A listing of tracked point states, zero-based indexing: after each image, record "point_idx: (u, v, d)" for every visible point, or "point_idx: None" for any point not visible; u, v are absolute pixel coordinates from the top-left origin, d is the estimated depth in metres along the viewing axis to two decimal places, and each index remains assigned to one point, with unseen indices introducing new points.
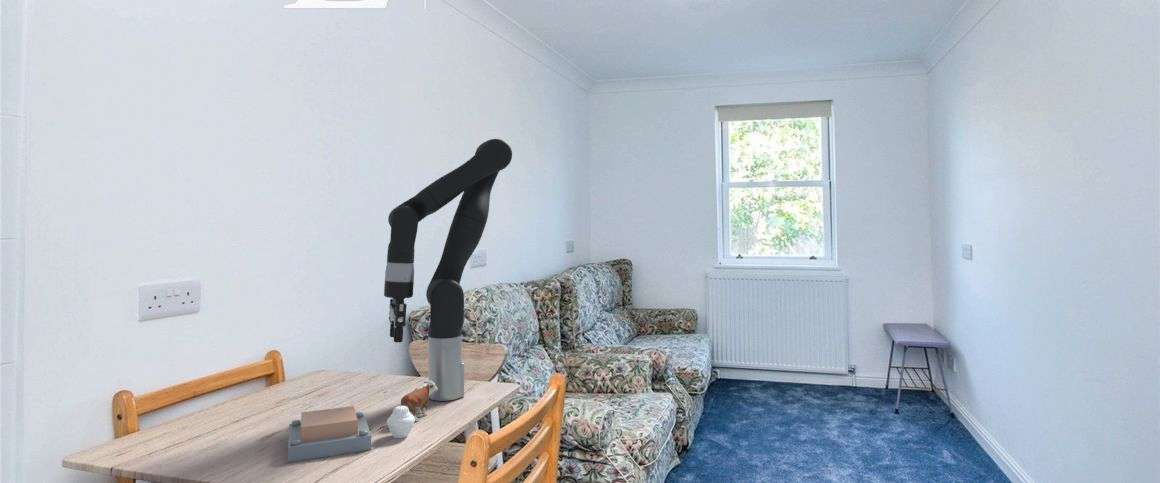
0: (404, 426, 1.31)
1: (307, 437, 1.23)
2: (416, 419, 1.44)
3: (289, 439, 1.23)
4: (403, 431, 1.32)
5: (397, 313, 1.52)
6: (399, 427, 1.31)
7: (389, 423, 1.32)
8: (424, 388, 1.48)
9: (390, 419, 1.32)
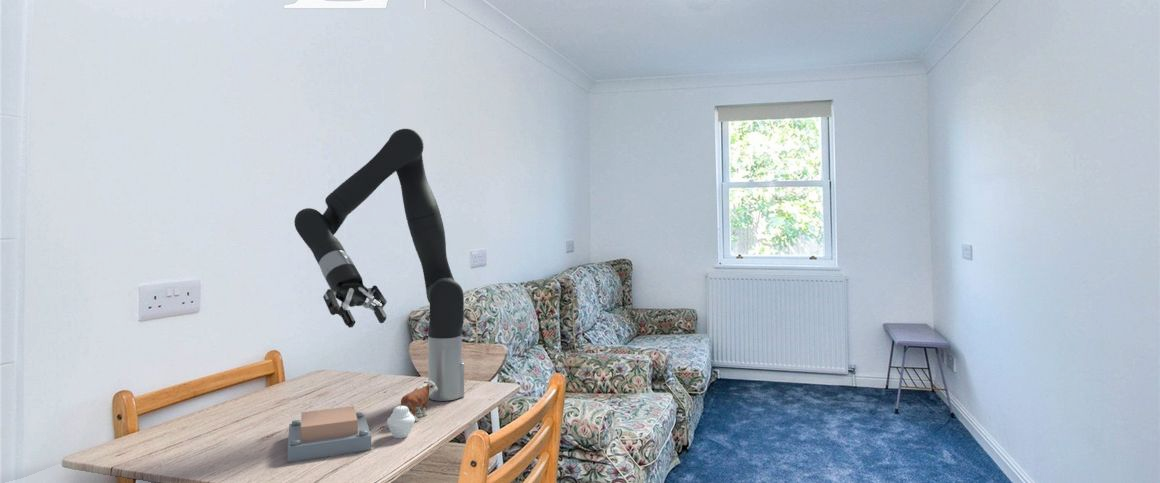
0: (404, 426, 1.31)
1: (307, 437, 1.23)
2: (416, 419, 1.44)
3: (289, 439, 1.23)
4: (403, 431, 1.32)
5: (326, 303, 1.38)
6: (399, 427, 1.31)
7: (389, 423, 1.32)
8: (424, 388, 1.48)
9: (390, 419, 1.32)
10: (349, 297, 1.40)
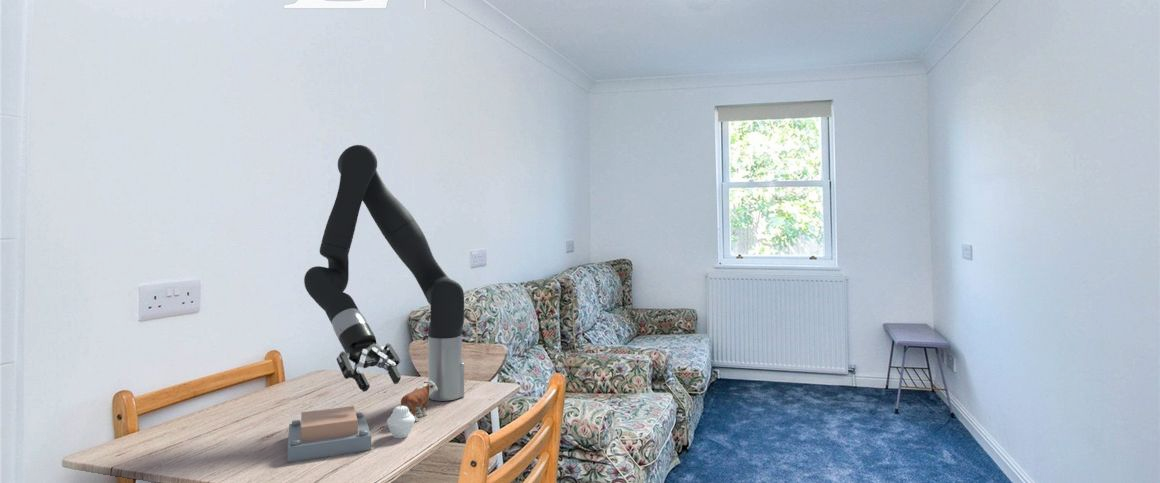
0: (404, 426, 1.31)
1: (307, 437, 1.23)
2: (416, 419, 1.44)
3: (289, 439, 1.23)
4: (403, 431, 1.32)
5: (340, 366, 1.35)
6: (399, 427, 1.31)
7: (389, 423, 1.32)
8: (424, 388, 1.48)
9: (390, 419, 1.32)
10: (363, 359, 1.37)
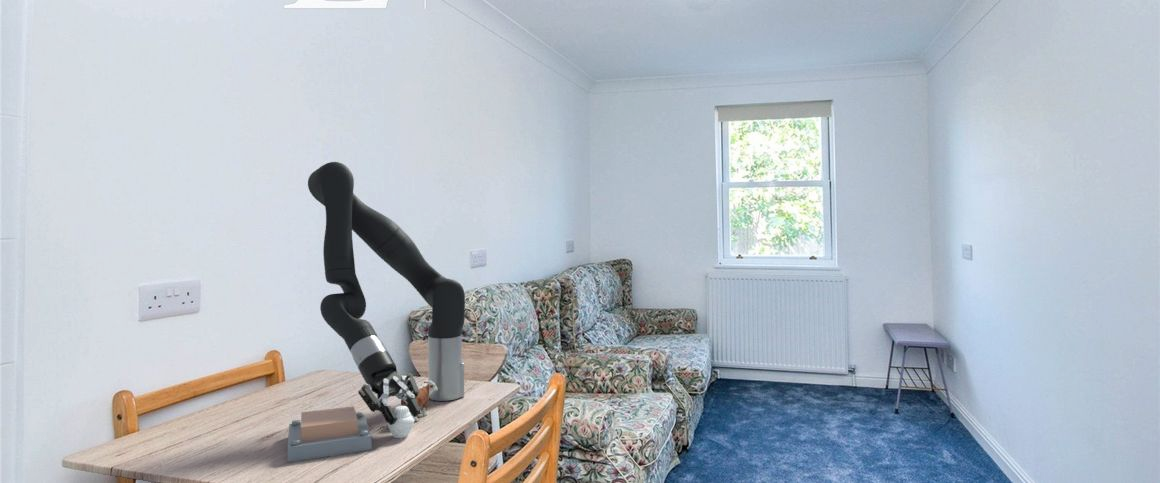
0: (404, 426, 1.31)
1: (307, 437, 1.23)
2: (416, 419, 1.44)
3: (289, 439, 1.23)
4: (403, 431, 1.32)
5: (364, 399, 1.31)
6: (399, 427, 1.31)
7: None
8: (424, 388, 1.48)
9: None
10: (386, 390, 1.33)
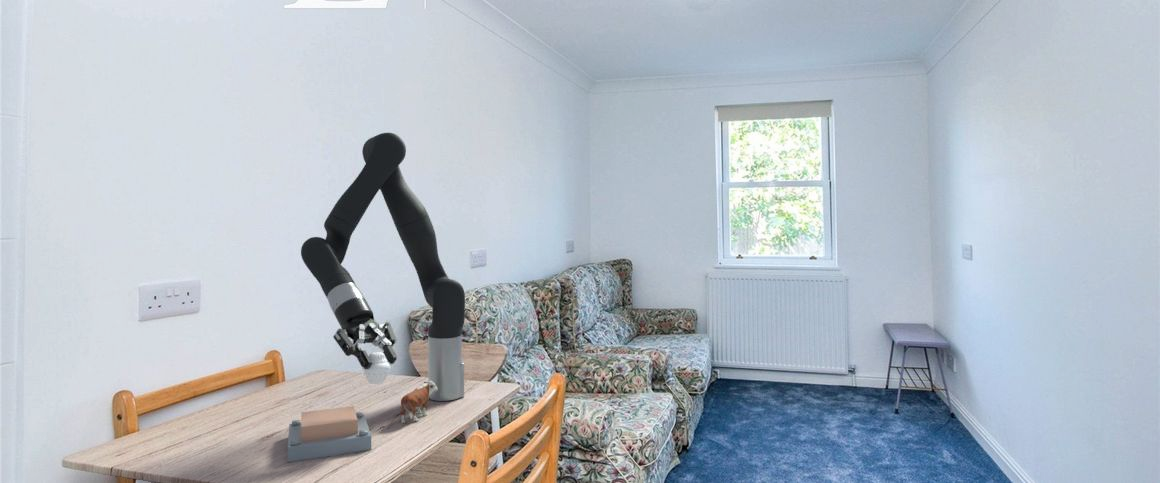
0: (379, 371, 1.29)
1: (307, 437, 1.23)
2: (416, 419, 1.44)
3: (289, 439, 1.23)
4: (378, 376, 1.30)
5: (339, 344, 1.29)
6: (374, 372, 1.29)
7: None
8: (424, 388, 1.48)
9: None
10: (362, 335, 1.31)
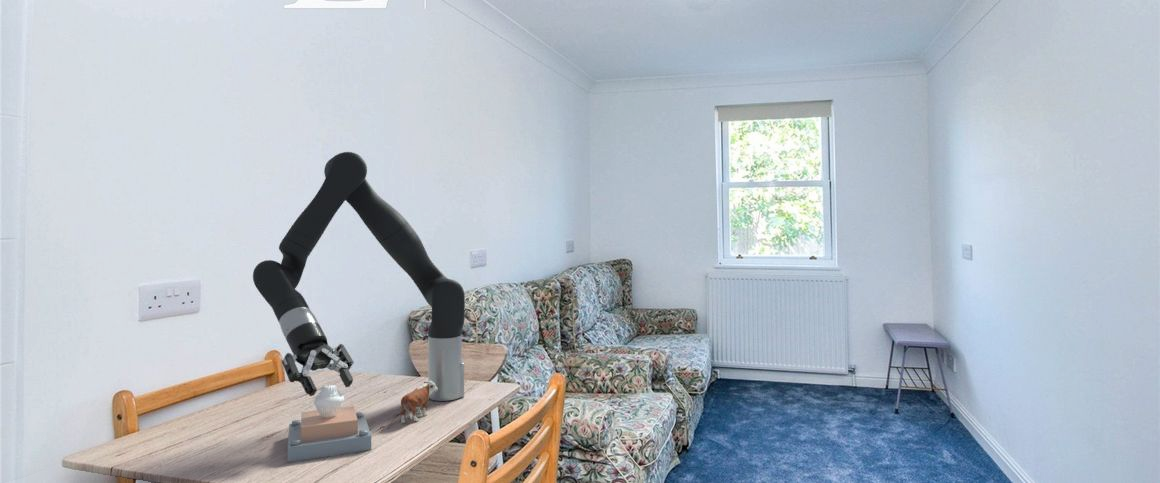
0: (331, 405, 1.27)
1: (307, 437, 1.23)
2: (416, 419, 1.44)
3: (289, 439, 1.23)
4: (330, 410, 1.27)
5: (285, 369, 1.26)
6: (325, 406, 1.27)
7: (315, 402, 1.27)
8: (424, 388, 1.48)
9: (317, 398, 1.28)
10: (310, 361, 1.28)
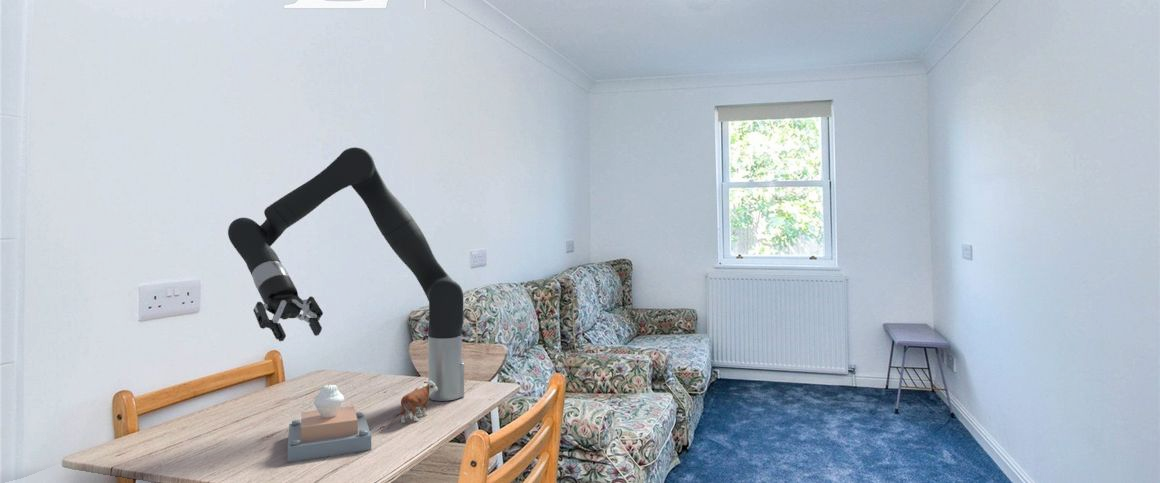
0: (331, 405, 1.27)
1: (307, 437, 1.23)
2: (416, 419, 1.44)
3: (289, 439, 1.23)
4: (330, 410, 1.27)
5: (256, 316, 1.34)
6: (325, 406, 1.27)
7: (315, 402, 1.27)
8: (424, 388, 1.48)
9: (317, 398, 1.28)
10: (281, 310, 1.36)
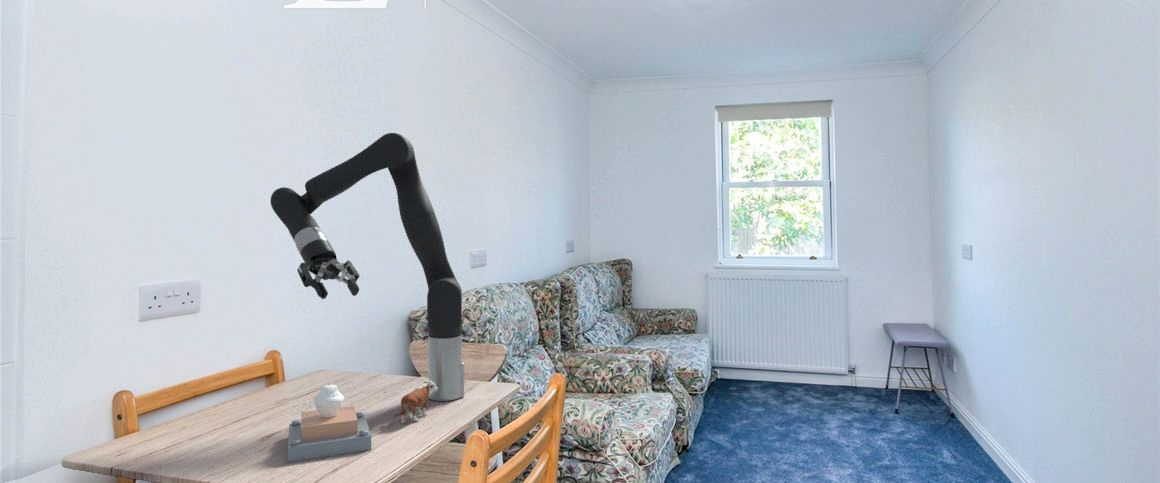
0: (331, 405, 1.27)
1: (307, 437, 1.23)
2: (416, 419, 1.44)
3: (289, 439, 1.23)
4: (330, 410, 1.27)
5: (300, 276, 1.44)
6: (325, 406, 1.27)
7: (315, 402, 1.27)
8: (424, 388, 1.48)
9: (317, 398, 1.28)
10: (322, 270, 1.46)
